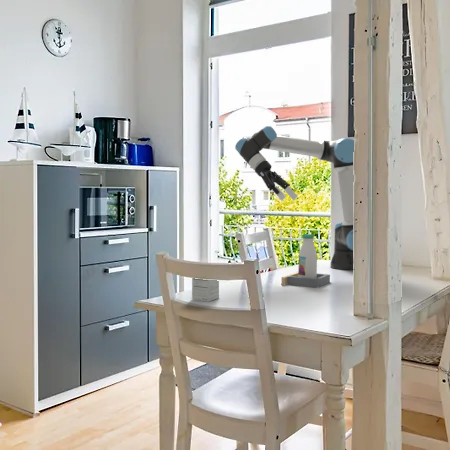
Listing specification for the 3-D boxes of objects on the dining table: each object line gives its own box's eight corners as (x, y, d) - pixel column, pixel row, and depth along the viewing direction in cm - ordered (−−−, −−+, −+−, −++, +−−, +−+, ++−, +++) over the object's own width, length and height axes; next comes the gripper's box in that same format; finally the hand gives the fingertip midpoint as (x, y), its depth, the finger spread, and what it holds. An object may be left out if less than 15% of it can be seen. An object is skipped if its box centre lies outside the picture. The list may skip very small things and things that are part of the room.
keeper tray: (299, 278, 250) (299, 270, 250) (331, 281, 243) (331, 273, 242) (281, 284, 233) (281, 277, 232) (315, 288, 225) (315, 280, 225)
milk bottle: (315, 279, 241) (316, 233, 240) (317, 282, 234) (318, 235, 232) (297, 279, 242) (298, 233, 241) (298, 282, 235) (299, 235, 233)
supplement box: (202, 296, 207) (202, 262, 206) (219, 298, 203) (219, 264, 202) (191, 299, 200) (191, 264, 200) (208, 302, 197) (208, 266, 196)
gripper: (266, 171, 271) (294, 203, 265) (242, 170, 249) (272, 204, 243) (276, 160, 268) (305, 192, 262) (253, 158, 246) (284, 192, 240)
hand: (289, 198), depth 252 cm, fingers open, 13 cm apart
